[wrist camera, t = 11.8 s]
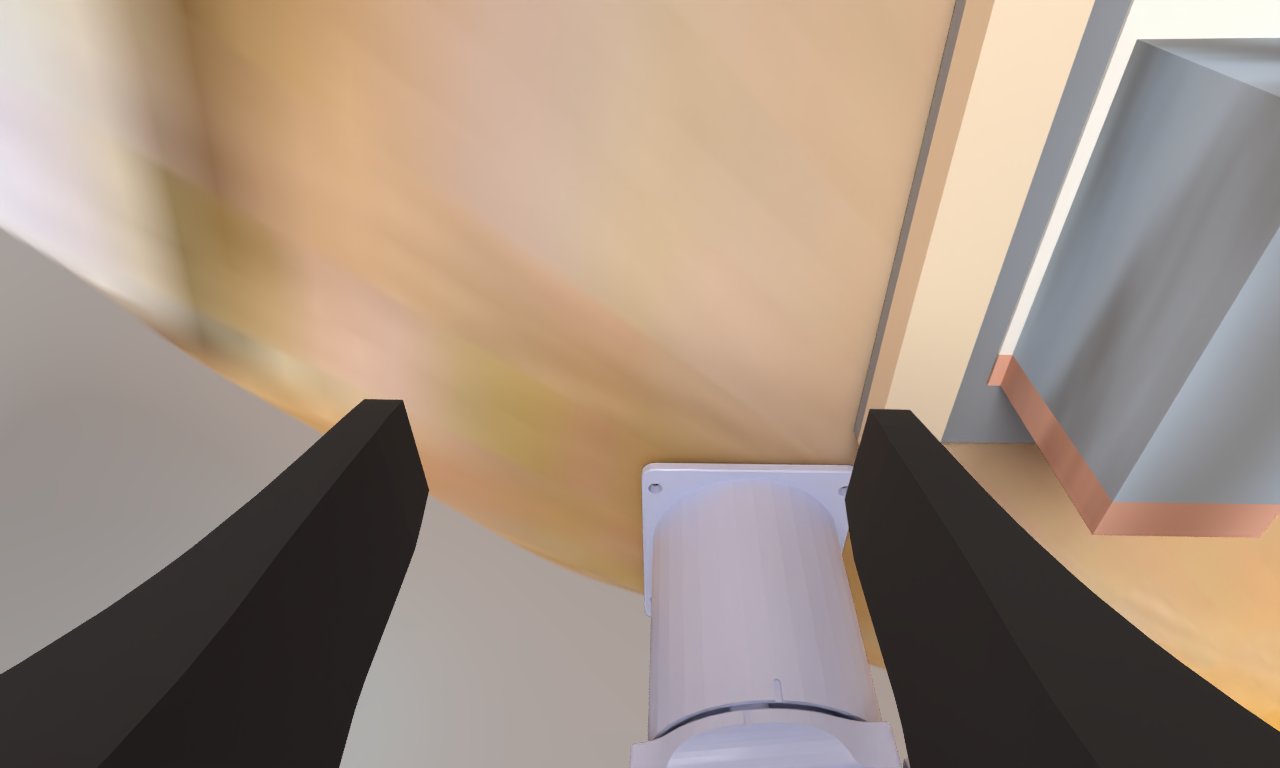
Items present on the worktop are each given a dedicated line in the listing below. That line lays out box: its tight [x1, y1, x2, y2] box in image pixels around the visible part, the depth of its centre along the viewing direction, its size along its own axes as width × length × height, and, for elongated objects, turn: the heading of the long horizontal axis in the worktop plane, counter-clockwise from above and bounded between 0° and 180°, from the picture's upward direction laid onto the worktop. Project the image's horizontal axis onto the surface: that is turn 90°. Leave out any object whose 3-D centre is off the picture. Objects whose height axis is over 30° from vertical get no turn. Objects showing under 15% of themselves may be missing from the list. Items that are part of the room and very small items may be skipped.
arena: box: [854, 0, 1280, 445], centre depth 18 cm, size 17×13×2 cm
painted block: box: [1000, 38, 1280, 538], centre depth 16 cm, size 4×10×6 cm, turn 1°
